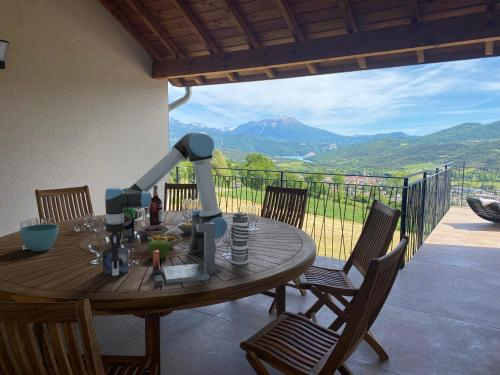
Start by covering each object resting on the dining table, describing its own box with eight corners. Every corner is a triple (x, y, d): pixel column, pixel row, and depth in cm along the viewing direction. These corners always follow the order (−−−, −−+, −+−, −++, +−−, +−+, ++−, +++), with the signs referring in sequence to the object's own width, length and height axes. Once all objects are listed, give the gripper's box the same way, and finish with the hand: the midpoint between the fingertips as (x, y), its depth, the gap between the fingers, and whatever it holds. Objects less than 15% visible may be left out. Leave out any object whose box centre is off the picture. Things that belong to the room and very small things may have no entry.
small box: (102, 275, 152) (102, 252, 151) (104, 270, 159) (104, 248, 158) (128, 273, 155) (127, 250, 154) (129, 268, 162) (128, 246, 160)
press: (152, 271, 158) (151, 222, 155) (209, 266, 167) (209, 219, 164) (155, 286, 141) (154, 231, 138) (218, 279, 150) (219, 227, 147)
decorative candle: (252, 262, 174) (253, 212, 171) (238, 265, 168) (238, 214, 165) (241, 257, 181) (241, 210, 178) (226, 261, 175) (227, 212, 172)
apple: (168, 254, 184) (168, 236, 183) (170, 260, 174) (170, 241, 173) (147, 256, 181) (147, 237, 180) (148, 262, 171) (147, 242, 170)
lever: (152, 270, 156) (151, 250, 155) (160, 269, 157) (159, 249, 156) (152, 273, 153) (152, 252, 151) (161, 272, 154) (160, 251, 153)
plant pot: (49, 243, 202) (48, 222, 201) (66, 248, 192) (65, 226, 191) (14, 250, 187) (13, 228, 186) (30, 256, 177) (29, 233, 176)
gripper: (107, 218, 163) (108, 264, 166) (104, 228, 143) (105, 281, 145) (124, 217, 166) (124, 263, 168) (123, 227, 146) (124, 279, 148)
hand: (115, 271), depth 157 cm, fingers open, 9 cm apart
